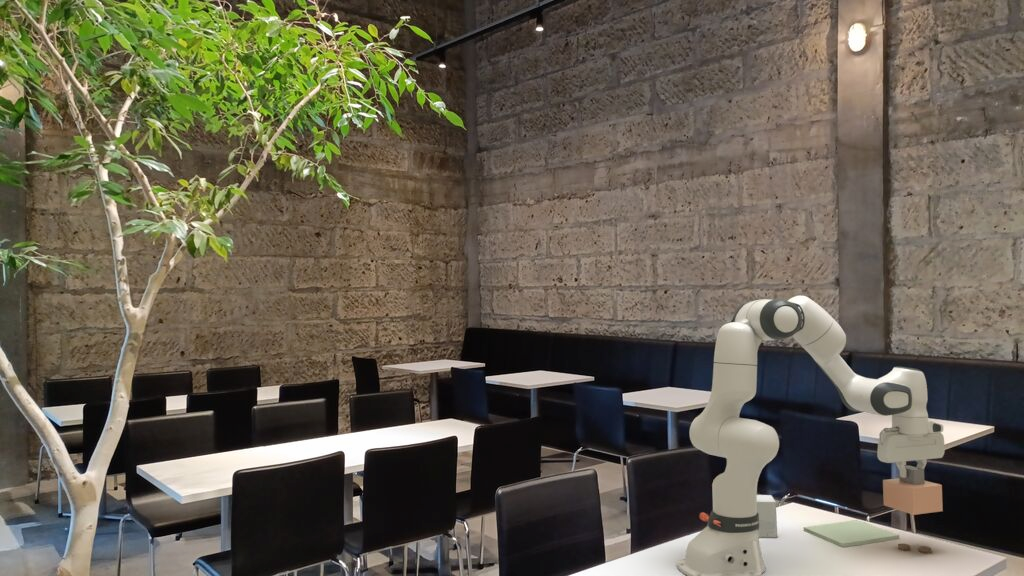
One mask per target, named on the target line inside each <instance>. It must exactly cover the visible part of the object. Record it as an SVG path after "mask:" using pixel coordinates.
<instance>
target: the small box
mask: <svg viewBox="0 0 1024 576" xmlns="http://www.w3.org/2000/svg"><path fill="white" fill-rule="evenodd" d="M757 512H758V514H759V531H758V536H759V538H778V521H777V519H778V517H777V502H776V500H775V498H774V497H773V495H770V494H757Z"/></svg>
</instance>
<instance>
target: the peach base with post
mask: <svg viewBox="0 0 1024 576" xmlns="http://www.w3.org/2000/svg"><path fill="white" fill-rule="evenodd" d="M904 466H905V468H906V470H907V471H909V477H907V478H903V477H900V470H899V469H898V474H899V476H898V477H897V478H890V479H882V491H883V494H882V495H883V506H885V507H887V508H890V509H894V510H897V511H900V512H903V513H907V514H909V515H913V516H916V515H922V514H930V513H939V512H944V510H943V485H942V484H940V483H936V482H932V481H928V480H925V468H924V469H921V468H917V466H912V465H908V464H907V465H904Z"/></svg>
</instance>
